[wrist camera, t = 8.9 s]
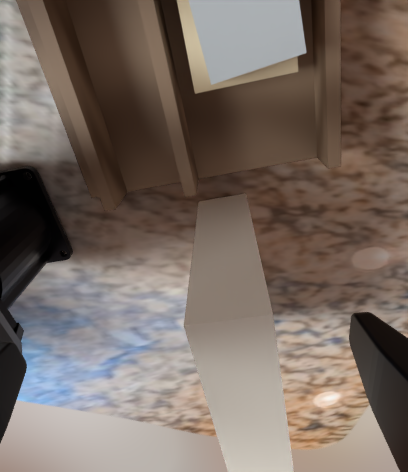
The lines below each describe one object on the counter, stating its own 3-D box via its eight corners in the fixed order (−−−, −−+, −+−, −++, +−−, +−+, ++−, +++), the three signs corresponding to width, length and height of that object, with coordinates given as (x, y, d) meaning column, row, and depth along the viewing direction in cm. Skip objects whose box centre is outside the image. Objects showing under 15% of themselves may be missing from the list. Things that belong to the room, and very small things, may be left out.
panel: (264, 315, 25) (294, 476, 15) (225, 320, 25) (230, 480, 16) (245, 193, 20) (273, 314, 11) (198, 201, 21) (183, 325, 11)
